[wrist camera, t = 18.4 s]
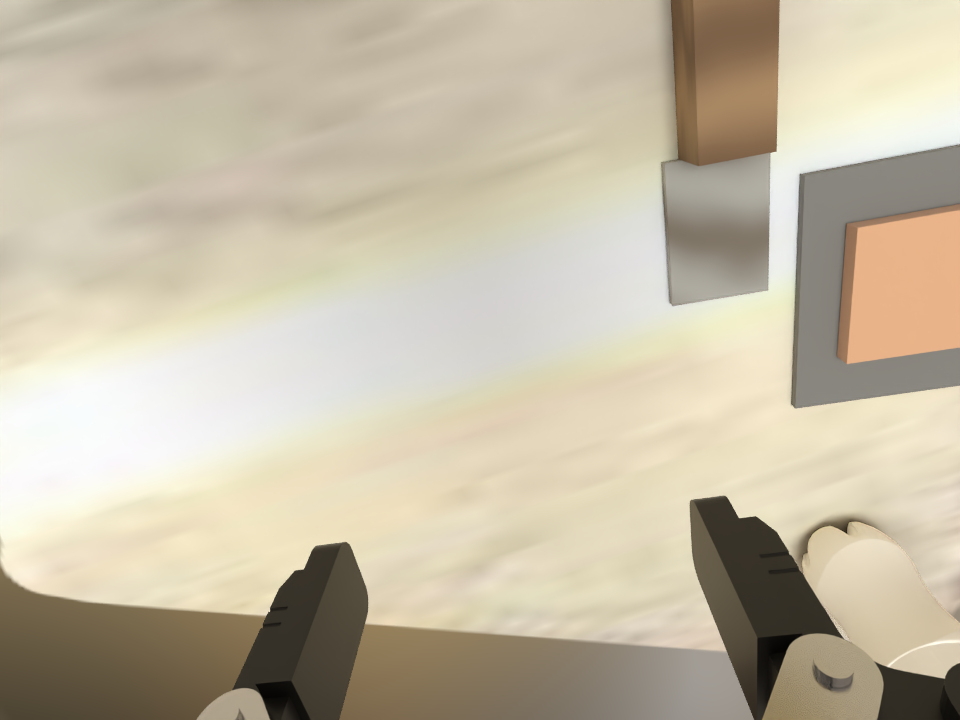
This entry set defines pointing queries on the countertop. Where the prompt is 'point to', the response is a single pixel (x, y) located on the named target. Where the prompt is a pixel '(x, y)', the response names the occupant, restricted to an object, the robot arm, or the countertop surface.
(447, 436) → the countertop surface
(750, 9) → the board
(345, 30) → the countertop surface
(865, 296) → the tile
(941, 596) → the countertop surface
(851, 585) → the water bottle
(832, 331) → the slate mat
